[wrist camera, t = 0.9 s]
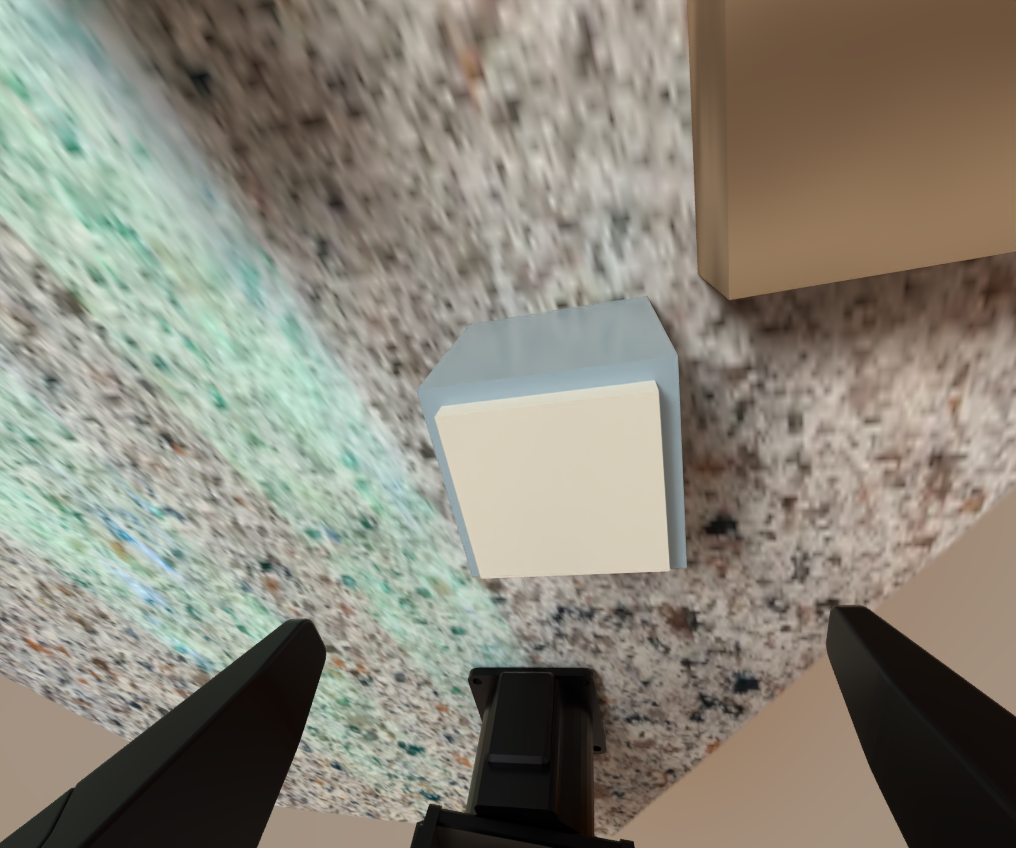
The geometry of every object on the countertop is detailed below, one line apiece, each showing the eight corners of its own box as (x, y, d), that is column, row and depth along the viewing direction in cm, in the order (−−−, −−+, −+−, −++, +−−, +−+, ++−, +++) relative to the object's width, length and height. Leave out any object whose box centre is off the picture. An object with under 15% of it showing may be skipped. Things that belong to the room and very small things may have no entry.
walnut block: (1039, 209, 13) (1206, 219, 10) (695, 272, 15) (728, 300, 12) (1158, -283, 9) (1505, -562, 6) (680, -112, 11) (721, -243, 8)
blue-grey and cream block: (657, 454, 18) (691, 584, 12) (503, 467, 19) (467, 592, 13) (646, 295, 15) (683, 365, 10) (470, 323, 17) (408, 400, 11)
